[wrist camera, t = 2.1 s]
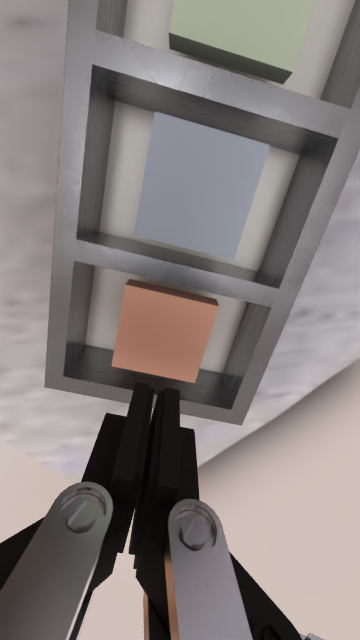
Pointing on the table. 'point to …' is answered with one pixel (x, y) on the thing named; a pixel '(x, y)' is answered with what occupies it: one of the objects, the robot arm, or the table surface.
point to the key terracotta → (163, 331)
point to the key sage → (242, 33)
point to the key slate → (198, 186)
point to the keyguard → (169, 265)
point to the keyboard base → (130, 161)
